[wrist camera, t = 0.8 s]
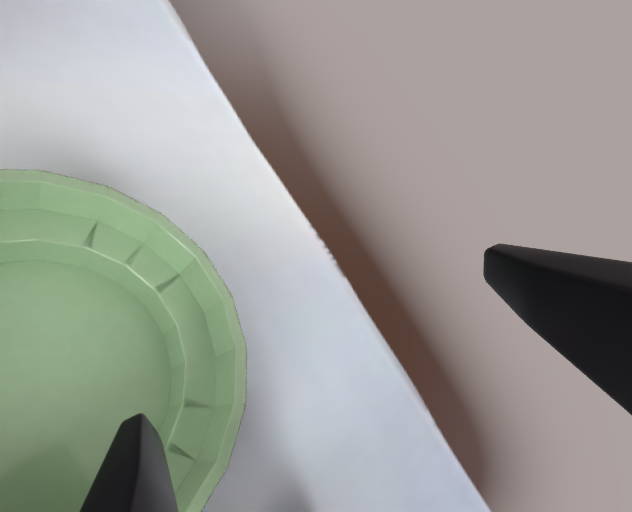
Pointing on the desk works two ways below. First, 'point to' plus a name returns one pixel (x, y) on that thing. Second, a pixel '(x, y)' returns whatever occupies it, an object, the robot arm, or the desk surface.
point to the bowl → (108, 343)
